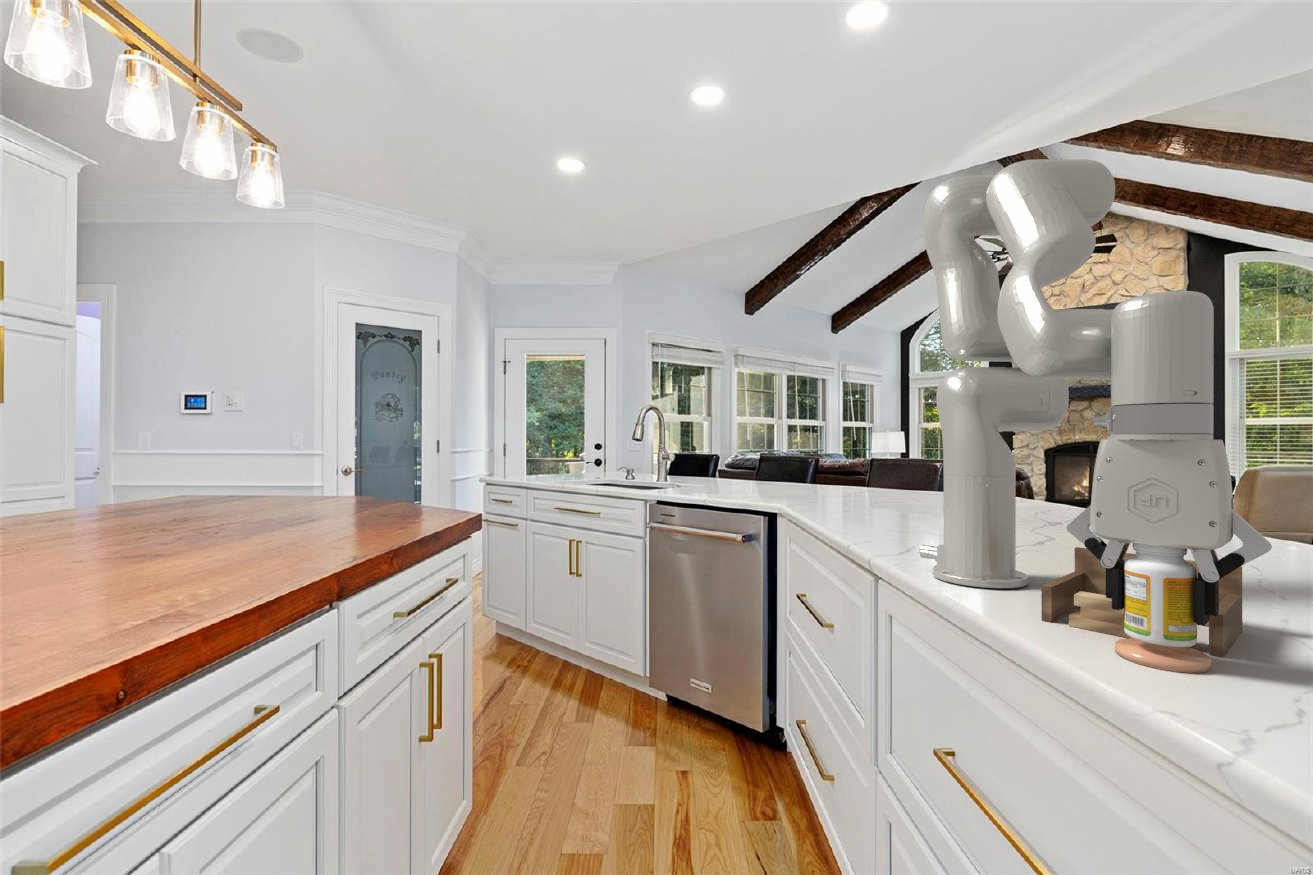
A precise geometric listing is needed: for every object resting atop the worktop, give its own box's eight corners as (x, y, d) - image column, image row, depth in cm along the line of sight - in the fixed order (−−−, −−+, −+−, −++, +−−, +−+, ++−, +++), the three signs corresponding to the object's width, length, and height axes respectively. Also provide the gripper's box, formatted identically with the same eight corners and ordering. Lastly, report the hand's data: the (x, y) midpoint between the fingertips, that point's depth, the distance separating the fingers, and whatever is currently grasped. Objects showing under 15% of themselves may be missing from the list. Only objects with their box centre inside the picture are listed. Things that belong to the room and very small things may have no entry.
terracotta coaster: (1106, 657, 58) (1106, 648, 58) (1125, 641, 62) (1125, 633, 62) (1203, 679, 53) (1203, 670, 53) (1217, 660, 57) (1217, 652, 57)
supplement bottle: (1199, 638, 58) (1199, 537, 58) (1195, 653, 54) (1195, 544, 54) (1128, 626, 62) (1128, 530, 62) (1119, 638, 58) (1119, 537, 58)
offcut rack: (1041, 620, 70) (1041, 559, 70) (1077, 601, 78) (1077, 547, 78) (1223, 657, 58) (1222, 584, 58) (1242, 630, 66) (1242, 566, 66)
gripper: (1044, 425, 62) (1043, 602, 62) (1285, 422, 49) (1284, 647, 49) (1068, 426, 67) (1068, 590, 67) (1293, 424, 54) (1293, 628, 54)
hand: (1159, 612), depth 58 cm, fingers closed on supplement bottle, 5 cm apart
